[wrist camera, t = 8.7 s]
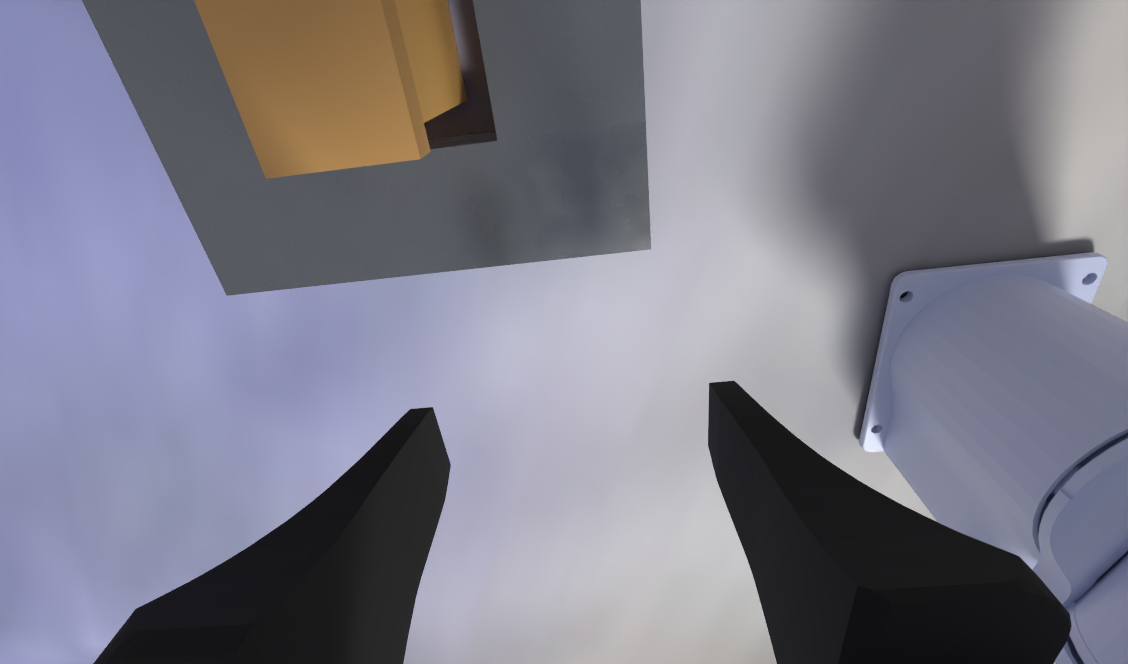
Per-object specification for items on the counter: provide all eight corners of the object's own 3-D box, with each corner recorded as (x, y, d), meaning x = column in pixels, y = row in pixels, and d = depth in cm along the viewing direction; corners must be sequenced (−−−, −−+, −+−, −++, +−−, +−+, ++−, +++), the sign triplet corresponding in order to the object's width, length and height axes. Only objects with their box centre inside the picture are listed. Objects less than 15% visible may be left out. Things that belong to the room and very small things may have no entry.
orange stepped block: (471, 120, 19) (420, 158, 13) (365, 134, 19) (266, 178, 13) (427, -105, 15) (330, -200, 9) (300, -84, 16) (128, -163, 10)
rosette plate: (642, 227, 20) (650, 249, 18) (262, 270, 22) (227, 295, 19) (611, -400, 13) (619, -494, 10) (20, -278, 14) (-84, -337, 12)
